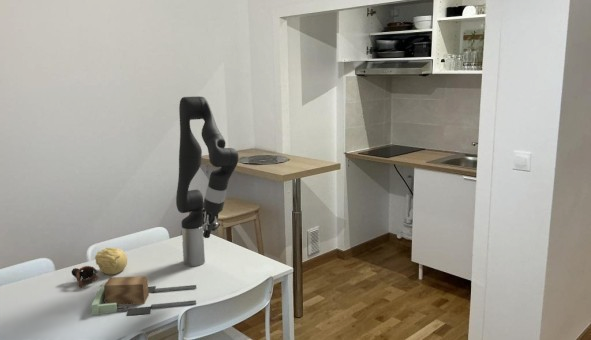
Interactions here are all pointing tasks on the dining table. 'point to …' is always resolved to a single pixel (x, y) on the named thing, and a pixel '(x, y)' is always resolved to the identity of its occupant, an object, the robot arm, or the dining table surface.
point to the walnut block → (126, 290)
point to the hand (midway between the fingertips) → (206, 237)
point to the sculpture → (111, 260)
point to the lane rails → (167, 303)
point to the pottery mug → (85, 275)
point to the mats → (141, 309)
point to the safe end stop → (98, 303)
